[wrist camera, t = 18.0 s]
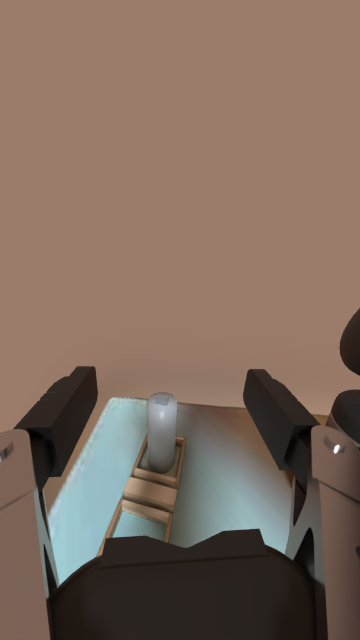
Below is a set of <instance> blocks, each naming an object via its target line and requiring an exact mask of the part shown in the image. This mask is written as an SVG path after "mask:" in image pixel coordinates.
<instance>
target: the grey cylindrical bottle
mask: <svg viewBox="0 0 360 640" xmlns="http://www.w3.org/2000/svg"><path fill="white" fill-rule="evenodd" d="M176 418H177V400H176V398H175V397H174V396H173V395H172V394H169V393H165V392H161V393H156V394H154V395H152V396H151V397H150V398H149V399H148V401H147V438H148V465H149V467H150V469H151V470H152V471H153V472H155V473H158V474H163V473H166V472H168V471H169V470H170V469H171V468H172V467H173V465H174V462H175V441H176Z"/></svg>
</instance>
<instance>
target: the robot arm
mask: <svg viewBox="0 0 360 640" xmlns="http://www.w3.org/2000/svg"><path fill="white" fill-rule="evenodd" d="M340 355H341V358H342V361H343V362H344V364H345V365H346V367H348V368H349V370H351V371H352V372H354V373H356V374H357V375H360V308H359V310H358V311H357V312H356V313H355V314H354V315H353V317H352V318H351V320H350V321H349V323H348V324H347V326H346V328H345V330H344V332H343V334H342V337H341V341H340ZM97 396H98V390H97V380H96V370H95V367H90V366H78V367H76V368H75V370H74V371H73V372H72V373H71V375H70V376H69V377H63V378H62V379H60V380H58V381H57V382H55V383H54V384H53V385H52V386H51V387H50V388H49V389H48V391H47V392H46V393H45V394H44V395H43V396H42V397H41V398H40V401H38V402H37V403H36V404H35V405H34V406H33V407H32V408H31V410H30V411H29V412H28V413H27V414H26V415H25V416H24V417H23V419H22V420H21V421H20V422H19V423H18V424H17V425H16V426H15V427H14V429H13V430H9V431H5V432H2V433H0V640H360V390H348V391H344V392H342V393H340V394H339V395H338V396H337V397H336V399H335V401H334V404H333V407H332V409H331V412H330V414H329V417H328V419H327V422H326V424H325V426H322V425H320V423H319V422H318V421H317V420H316V419H315V418H314V417H313V416H312V415H311V414H310V413H309V412H308V411H307V409H306V408H305V407H304V406H303V405H302V404H301V403H300V402H299V401H297V399H296V398H295V396H294V395H292V394H291V392H290V391H289V390H288V389H287V388H286V387H285V386H284V385H283V384H282V383H280V382H279V381H277V380H275V379H272V378H271V376H270V375H269V374H268V373H267V372H266V370H264V369H250V370H248V372H247V377H246V382H245V387H244V392H243V399H244V404H245V406H246V408H247V410H248V412H249V413H250V415H251V417H252V419H253V421H254V423H255V425H256V427H257V429H258V430H259V432H260V434H261V436H262V438H263V440H264V442H265V444H266V445H267V447H268V449H269V451H270V453H271V455H272V457H273V459H274V461H275V462H276V464H277V466H278V468H279V470H291V471H292V472H293V474H294V478H293V482H292V496H291V511H290V526H289V536H288V541H287V546H286V550H285V555H284V554H283V553H281V552H280V551H278V550H276V549H274V548H272V547H270V546H268V545H265V544H264V541H263V538H262V535H261V532H260V529H248V530H231V531H222V532H220V533H218V534H216V535H214V536H212V537H210V538H208V539H206V540H204V541H202V542H200V543H198V544H195V545H193V546H191V547H189V548H182V547H179V546H176V545H173V544H169V543H166V542H163V541H160V540H157V539H154V538H151V537H148V536H133V537H116V538H106V539H105V543H104V548H103V553H102V555H100V556H97V557H95V558H94V559H92V560H90V561H89V562H87V563H85V564H84V565H83V566H81V567H80V568H79V569H77V570H76V571H75V572H74V573H72V574H71V575H70V576H69V577H68V578H67V579H66V580H65V581H64V582H63V583H62V584H61V585H59V580H58V574H57V569H56V564H55V559H54V554H53V549H52V542H51V536H50V529H49V523H48V517H47V510H46V504H45V498H44V491H43V487H44V486H45V484H46V482H47V480H48V478H49V477H61V475H62V473H63V471H64V469H65V467H66V465H67V463H68V461H69V459H70V457H71V455H72V452H73V450H74V448H75V446H76V444H77V442H78V440H79V438H80V436H81V434H82V432H83V429H84V428H85V425H86V423H87V421H88V419H89V417H90V415H91V413H92V411H93V409H94V407H95V405H96V401H97Z"/></svg>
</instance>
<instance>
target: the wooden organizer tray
mask: <svg viewBox="0 0 360 640" xmlns="http://www.w3.org/2000/svg"><path fill="white" fill-rule="evenodd" d="M147 445H148V438H147V435H146V437H145V440H144V442H143V445H142V447H141V450H140V452H139V454H138V457H137V459H136V462H135V464H134V467H133V469H132V477H129V479H128V481H127V484H126V486H125V488H124V498H125V499H128V500H131V501H135V502H138V503H142V504H145V505H148V506H152V507H155V508H159V509H162V510H165V511H169V512H172V513H174V508H175V502H176V496H177V490H178V485H179V480H180V474H181V468H182V463H183V457H184V451H185V446H186V438H182V437H178V436H176V441H175V445H178V446H175V462H174V465H173V467H172V468H171V469H170V470H169V471H168V472H166V473H163V474H158V473H155V472H153V471H152V470H151V469H150V467H149V465H148V449H147V451H146V448H147ZM179 446H182V450H181V447H179ZM145 451H146V454H145V457H144V459H143V462H142V465H141V467H140V469H139V466H140V464H141V461H142V458H143V456H144V453H145ZM180 451H181V455H180ZM179 456H180V460H179ZM178 461H179V465H178ZM177 466H178V471H177ZM176 471H177V476H176ZM175 476H176V478H175ZM131 501H127V500H124V499H120V501H119V503H118V505H117V508H116V510H115V513H114V515H113V518H112V520H111V522H110V525H109V527H108V530H107V532H106V535H105V537H104V540H103V542H102V544H101V547H100V549H99V552H98V554H97V556H100V555H102V553H103V548H104V543H105V539H106V538H112V537H113V534H114V532H115V529H116V526H117V524H118V521H119V519H120V516H121V513H122V511H123V512H126V513H130V514H133V515H136V516H139V517H143V518H146V519H149V520H152V521H156V522H159V523H162V524H165V525H167V527H166V532H165V538H164V542H166V543H168V542H169V536H170V531H171V525H172V517H173V514H171V513H168V512H164V511H161V510H158V509H154V508H151V507H147V506H144V505H141V504H137V503H134V502H131Z"/></svg>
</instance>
